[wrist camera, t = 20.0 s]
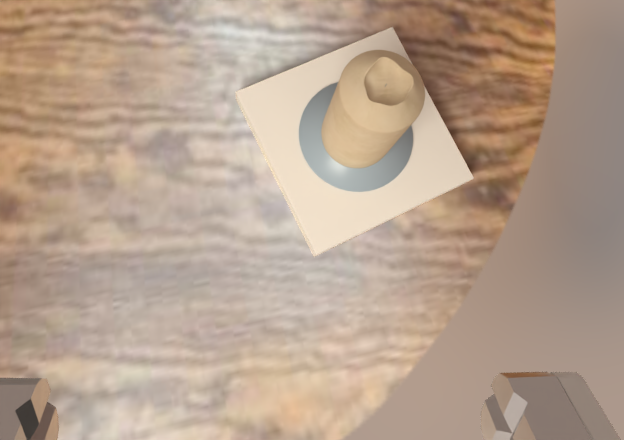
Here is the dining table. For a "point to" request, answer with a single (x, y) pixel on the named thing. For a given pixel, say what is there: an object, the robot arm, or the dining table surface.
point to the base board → (330, 174)
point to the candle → (371, 108)
